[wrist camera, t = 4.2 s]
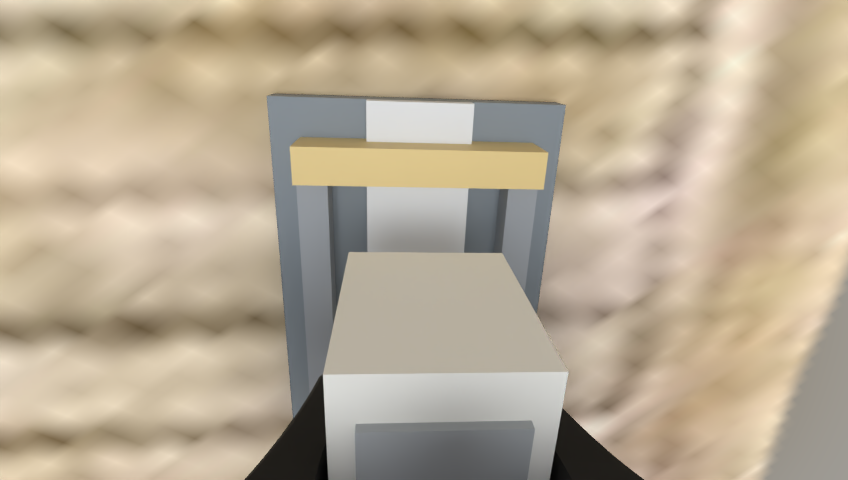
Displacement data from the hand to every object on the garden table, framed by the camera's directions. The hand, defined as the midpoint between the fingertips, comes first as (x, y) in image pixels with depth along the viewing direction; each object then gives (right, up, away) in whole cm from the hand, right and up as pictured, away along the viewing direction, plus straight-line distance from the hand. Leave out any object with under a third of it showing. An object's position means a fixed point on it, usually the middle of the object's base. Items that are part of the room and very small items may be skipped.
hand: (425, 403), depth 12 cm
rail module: (0, +1, +1) cm, 2 cm away
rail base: (0, +3, +7) cm, 8 cm away
